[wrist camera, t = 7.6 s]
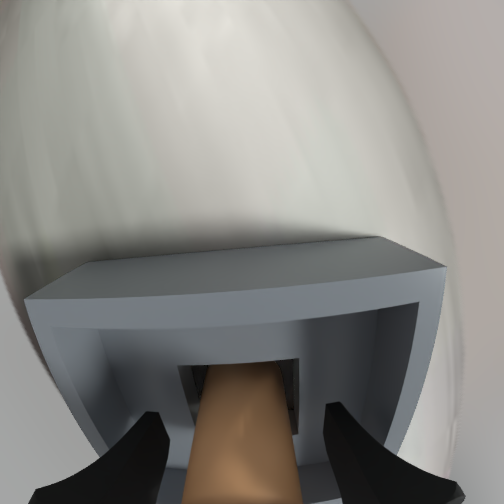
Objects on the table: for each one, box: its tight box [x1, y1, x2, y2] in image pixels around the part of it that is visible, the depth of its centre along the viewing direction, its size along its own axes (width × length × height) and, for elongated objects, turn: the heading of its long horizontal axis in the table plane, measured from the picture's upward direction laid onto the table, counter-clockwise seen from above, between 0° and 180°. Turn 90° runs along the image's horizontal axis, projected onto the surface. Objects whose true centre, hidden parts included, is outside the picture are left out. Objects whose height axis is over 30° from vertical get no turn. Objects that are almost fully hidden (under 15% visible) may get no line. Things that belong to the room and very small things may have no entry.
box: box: [24, 237, 447, 504], centre depth 11 cm, size 14×14×5 cm
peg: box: [181, 361, 303, 504], centre depth 10 cm, size 4×4×8 cm
